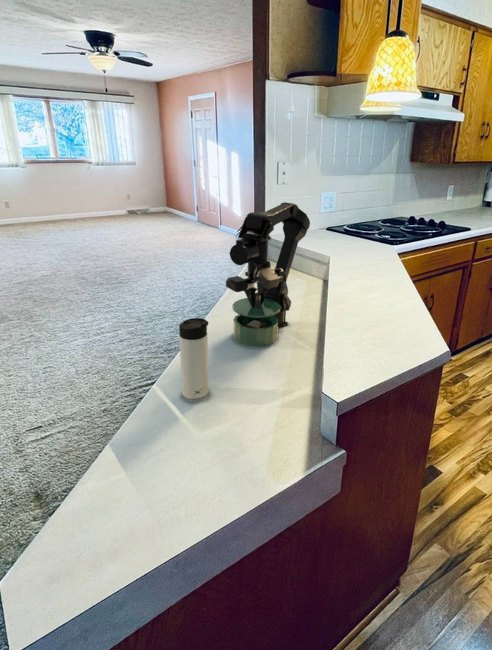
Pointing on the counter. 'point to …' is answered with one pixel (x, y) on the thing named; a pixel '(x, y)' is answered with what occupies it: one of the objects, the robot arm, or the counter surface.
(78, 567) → the counter surface
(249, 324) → the block
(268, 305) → the lid
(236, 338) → the pot
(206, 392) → the travel mug
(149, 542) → the counter surface
